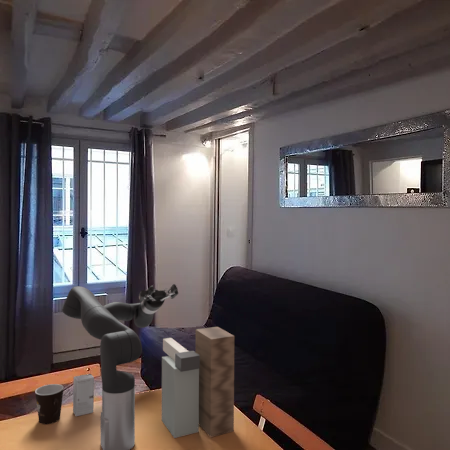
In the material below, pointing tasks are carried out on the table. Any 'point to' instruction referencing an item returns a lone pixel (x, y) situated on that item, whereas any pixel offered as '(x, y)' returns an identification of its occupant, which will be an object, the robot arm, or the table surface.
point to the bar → (181, 355)
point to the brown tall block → (216, 380)
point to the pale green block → (179, 399)
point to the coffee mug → (49, 403)
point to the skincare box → (83, 394)
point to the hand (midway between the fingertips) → (163, 287)
